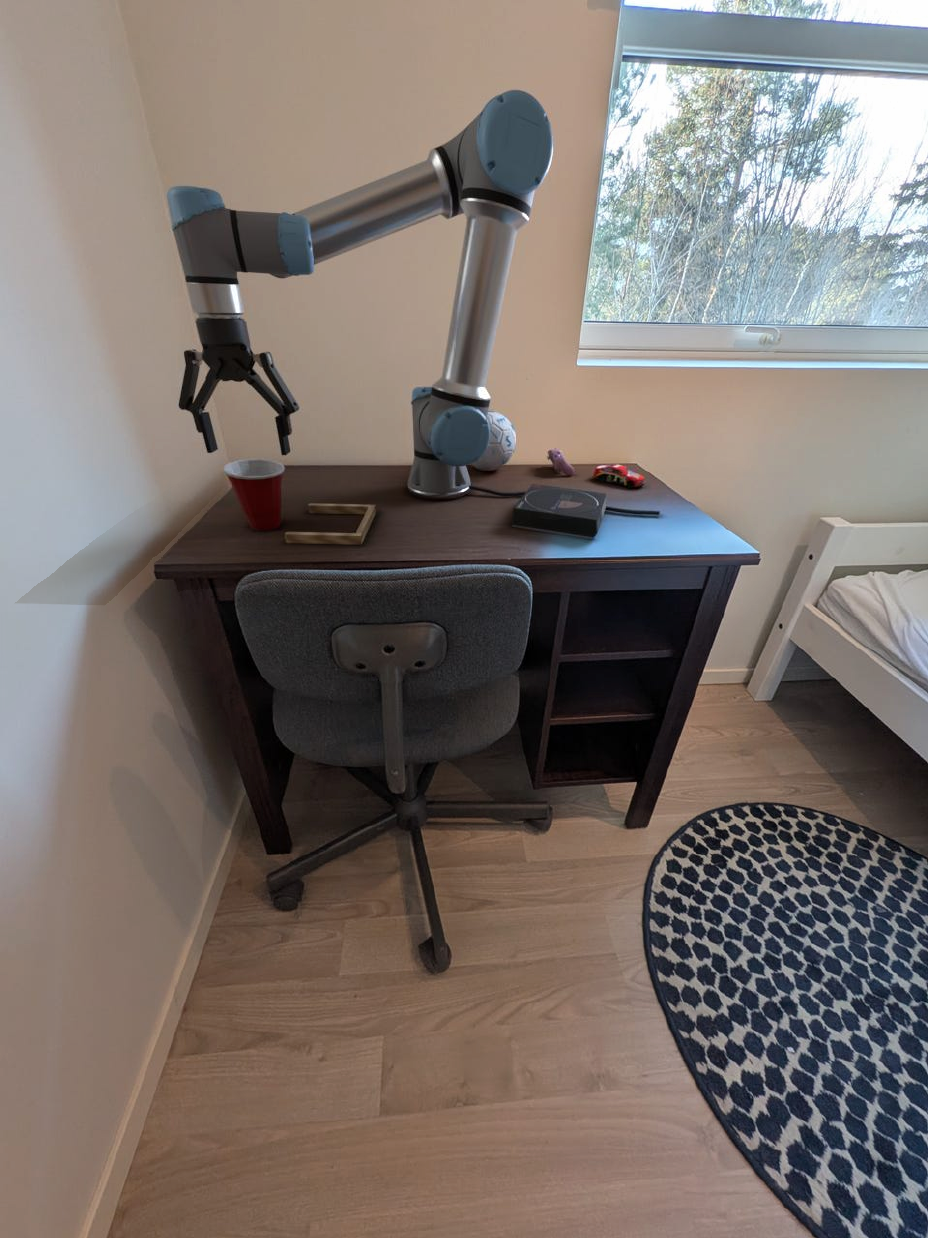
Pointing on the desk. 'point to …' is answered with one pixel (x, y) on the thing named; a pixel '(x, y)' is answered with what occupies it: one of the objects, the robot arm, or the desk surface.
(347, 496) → the desk surface
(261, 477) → the plastic cup
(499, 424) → the puzzle ball
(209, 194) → the robot arm
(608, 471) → the race car
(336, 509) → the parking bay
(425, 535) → the desk surface
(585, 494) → the portable cd player
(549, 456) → the purple animal figurine
